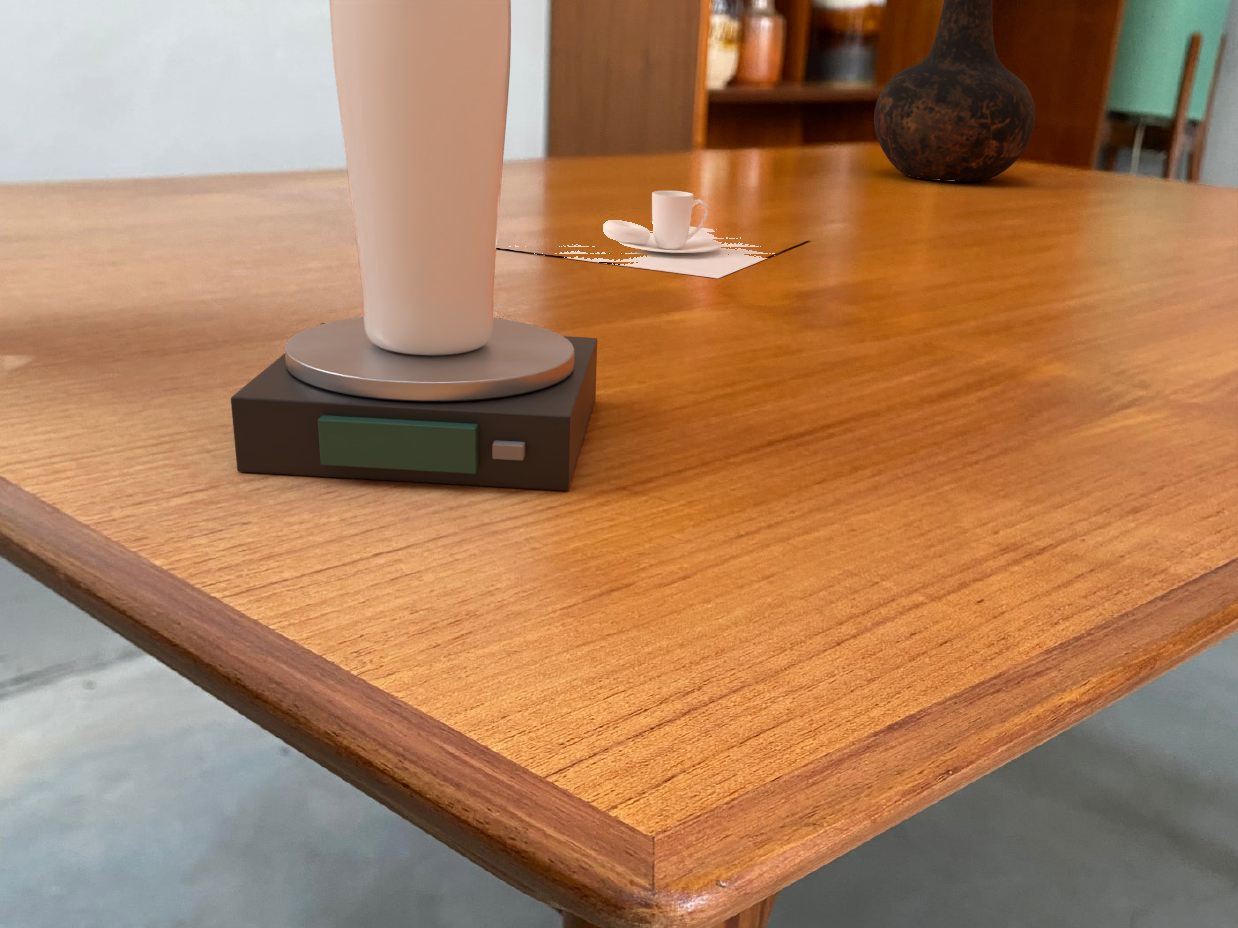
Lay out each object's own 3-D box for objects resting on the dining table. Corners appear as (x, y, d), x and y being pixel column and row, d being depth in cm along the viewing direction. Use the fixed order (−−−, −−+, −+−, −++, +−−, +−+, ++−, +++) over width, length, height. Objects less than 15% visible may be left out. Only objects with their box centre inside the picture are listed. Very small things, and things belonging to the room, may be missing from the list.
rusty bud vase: (1032, 177, 158) (1075, -90, 146) (1015, 193, 143) (1062, -103, 131) (884, 164, 164) (914, -93, 151) (853, 179, 148) (884, -107, 136)
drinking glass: (344, 363, 52) (320, -68, 46) (350, 324, 58) (330, -62, 52) (516, 364, 53) (517, -57, 47) (504, 325, 59) (504, -52, 53)
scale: (231, 477, 51) (224, 401, 50) (324, 385, 63) (321, 322, 62) (567, 497, 51) (568, 421, 49) (595, 400, 63) (597, 337, 62)
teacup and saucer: (590, 249, 100) (591, 192, 98) (635, 235, 106) (637, 182, 105) (696, 262, 97) (700, 204, 95) (736, 248, 103) (740, 193, 101)
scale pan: (246, 393, 51) (244, 372, 50) (328, 324, 61) (327, 306, 61) (558, 410, 50) (558, 389, 50) (585, 338, 61) (586, 320, 61)
